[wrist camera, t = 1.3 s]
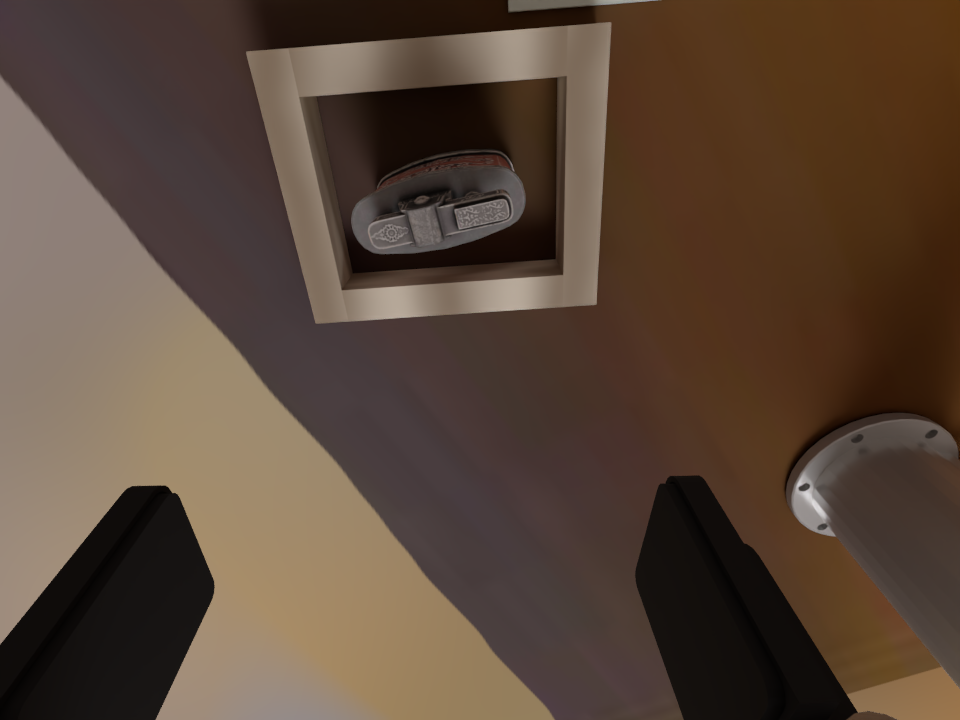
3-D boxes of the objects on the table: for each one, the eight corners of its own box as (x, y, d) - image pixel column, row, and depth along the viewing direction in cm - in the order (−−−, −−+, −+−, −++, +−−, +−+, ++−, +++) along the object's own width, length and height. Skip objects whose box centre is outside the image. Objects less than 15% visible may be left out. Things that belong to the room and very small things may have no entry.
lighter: (388, 227, 30) (353, 285, 21) (371, 169, 28) (325, 206, 19) (518, 198, 29) (537, 245, 20) (507, 137, 27) (524, 160, 19)
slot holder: (596, 29, 25) (611, 22, 22) (586, 286, 32) (596, 304, 29) (269, 55, 25) (245, 51, 23) (328, 304, 32) (315, 323, 29)
